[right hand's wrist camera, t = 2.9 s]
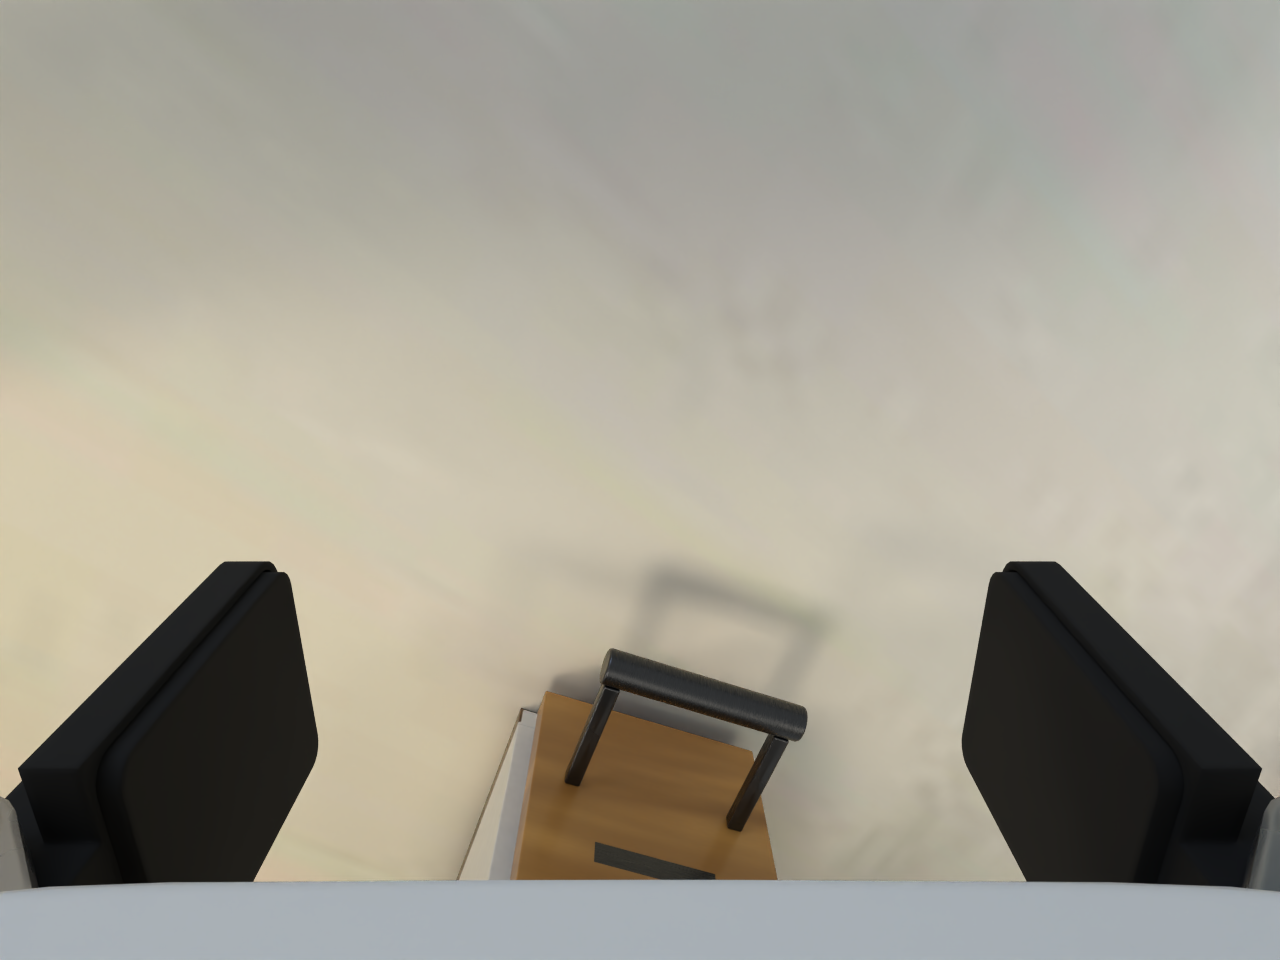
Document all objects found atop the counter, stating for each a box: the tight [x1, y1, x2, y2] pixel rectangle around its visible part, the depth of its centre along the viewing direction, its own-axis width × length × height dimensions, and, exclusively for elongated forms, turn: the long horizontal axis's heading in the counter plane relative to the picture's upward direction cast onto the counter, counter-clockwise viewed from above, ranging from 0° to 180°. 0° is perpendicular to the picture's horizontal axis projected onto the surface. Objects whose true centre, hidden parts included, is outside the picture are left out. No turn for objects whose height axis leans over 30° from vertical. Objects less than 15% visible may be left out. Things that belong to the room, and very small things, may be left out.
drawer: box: [510, 648, 807, 880], centre depth 32 cm, size 18×9×10 cm, turn 160°
